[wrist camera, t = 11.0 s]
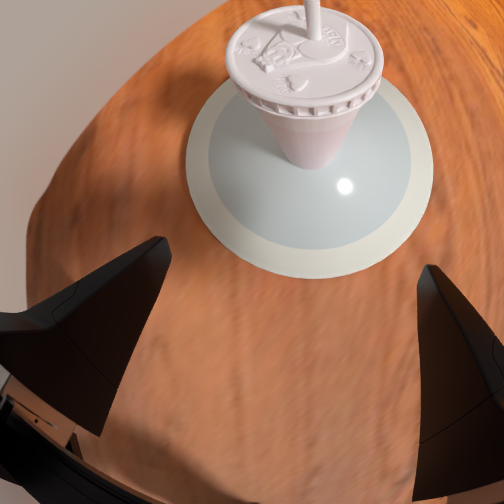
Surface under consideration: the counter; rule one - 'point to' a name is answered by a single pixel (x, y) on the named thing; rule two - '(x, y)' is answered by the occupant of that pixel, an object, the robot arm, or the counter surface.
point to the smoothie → (305, 76)
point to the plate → (310, 187)
